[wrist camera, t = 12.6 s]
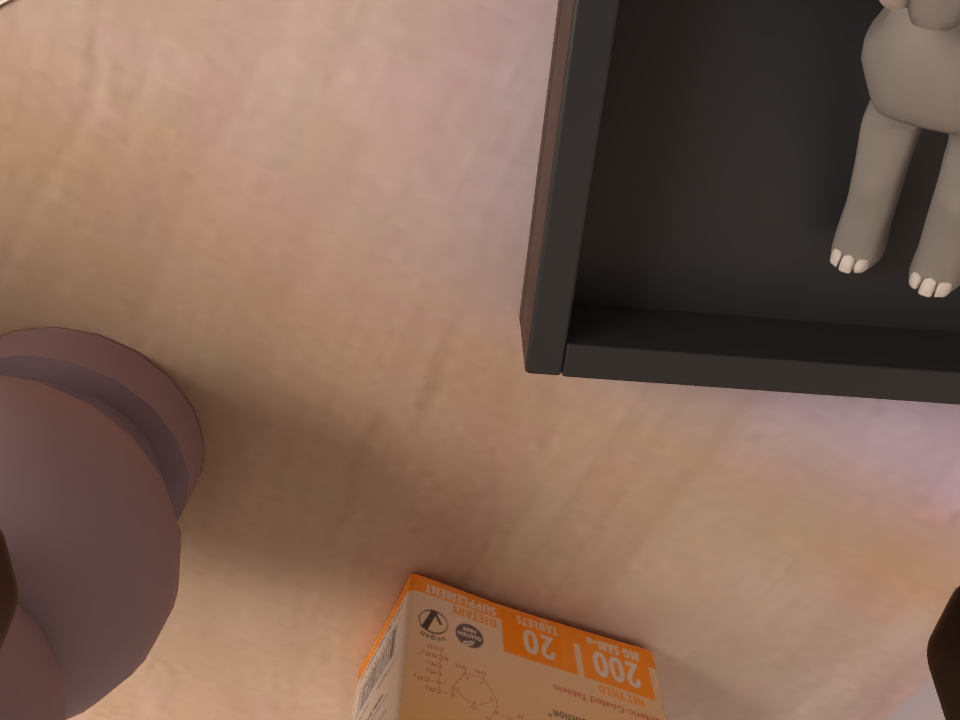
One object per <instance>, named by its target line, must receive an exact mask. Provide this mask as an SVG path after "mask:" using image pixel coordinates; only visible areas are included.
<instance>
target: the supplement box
mask: <svg viewBox="0 0 960 720" xmlns="http://www.w3.org/2000/svg"><path fill="white" fill-rule="evenodd" d="M351 720H666V716H665V711H664V706H663V702H662V697H661V692H660V687H659V682H658V678H657V673H656V669H655V664H654V660H653V655H652V653H651V652H650V651H649V650H646V649H643V648H640V647H637V646H634V645H629V644H627V643H622V642H619V641H616V640H613V639H609V638H606V637H603V636H599V635H596V634H594V633H591V632H586V631H583V630H580V629H577V628H573V627H570V626H566V625H564V624H561V623H557V622H554V621H550V620H547V619H545V618H540V617H538V616H534V615H530V614H528V613H525V612H521V611H519V610H516V609H512V608H509V607H507V606H503V605H499V604H497V603H494V602H491V601H489V600H486V599H483V598H480V597H478V596H475V595H473V594H470V593H467V592H464V591H462V590H460V589H456V588H453V587H452V586H449V585H445V584H442V583H440V582H438V581H436V580H432V579H429V578H426V577H423V576H421V575H417V574H411V575H410V577H409V579H408V581H407V583H406V585H405V587H404V589H403V591H402V593H401V594H400V596H399V598H398V600H397V602H396V604H395V606H394V608H393V609H392V611H391V614H390V615H389V617H388V619H387V620H386V623H385V624H384V627H383V628H382V629H381V632H380V634H379V635H378V637H377V639H376V640H375V643H374V645H373V646H372V648H371V649H370V652H369V653H368V655H367V657H366V658H365V660H364V662H363V663H362V665H361V669H360V672H359V677H358V682H357V687H356V693H355V699H354V704H353V710H352V716H351Z"/></svg>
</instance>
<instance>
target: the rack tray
mask: <svg viewBox="0 0 960 720" xmlns="http://www.w3.org/2000/svg"><path fill="white" fill-rule="evenodd" d="M883 8H884V6H883V5H882V4H881V2H880V1H879V0H559V3H558V11H557V19H556V27H555V35H554V43H553V51H552V59H551V67H550V75H549V83H548V91H547V99H546V107H545V115H544V123H543V131H542V139H541V147H540V155H539V163H538V171H537V179H536V188H535V196H534V204H533V212H532V220H531V228H530V236H529V244H528V252H527V260H526V268H525V276H524V284H523V292H522V300H521V308H520V316H519V317H520V326H521V335H522V345H523V355H524V365H525V370H526V372H528V373H536V374H550V375H560V374H561V372H562V375H563V376H567V377H581V378H595V379H609V380H623V381H637V382H651V383H665V384H680V385H694V386H708V387H722V388H736V389H750V390H764V391H778V392H792V393H806V394H820V395H834V396H848V397H862V398H876V399H890V400H904V401H918V402H932V403H946V404H960V286H958V287H957V288H956V289H955V290H953V291H952V292H950V293H949V294H948V295H947V296H945V297H934V295H935V292H936V291H934V293H933V294H932V296H931V297H926V296H923V295H920V294H919V293H918V291H919V288H920V286H918V288H917V289H914V288H912V287H911V286H910V285H909V269H910V265H911V263H912V260H913V257H914V255H915V253H916V250H917V248H918V245H919V242H920V238H921V235H922V232H923V228H924V224H925V221H926V217H927V214H928V210H929V207H930V204H931V201H932V197H933V194H934V191H935V187H936V184H937V181H938V177H939V173H940V169H941V165H942V161H943V157H944V153H945V150H946V146H947V143H948V138H949V134H948V133H943V132H938V131H933V130H928V129H924V128H923V129H922V132H921V135H920V138H919V141H918V143H917V146H916V148H915V151H914V154H913V156H912V159H911V162H910V165H909V168H908V171H907V175H906V178H905V181H904V185H903V188H902V191H901V195H900V198H899V201H898V204H897V207H896V210H895V214H894V217H893V220H892V223H891V227H890V232H889V236H888V241H887V245H886V249H885V252H884V254H883V256H882V257H881V259H880V260H879V261H878V262H877V263H876V264H874V265H873V266H872V267H870V268H869V269H867V270H866V271H864V272H862V273H854V268H853V269H852V271H851V272H850V273H844V272H841V271H840V270H839V265H840V263H839V264H838V265H837V266H836V267H835V266H834V265H833V264H831V262H830V258H831V248H832V243H833V240H834V236H835V233H836V230H837V227H838V224H839V221H840V218H841V215H842V212H843V209H844V207H845V204H846V200H847V197H848V193H849V188H850V183H851V178H852V173H853V168H854V163H855V158H856V152H857V146H858V140H859V133H860V127H861V123H862V119H863V116H864V113H865V111H866V108H867V106H868V104H869V102H870V99H871V98H870V95H869V91H868V87H867V83H866V79H865V75H864V70H863V65H862V61H861V55H862V50H863V44H864V39H865V36H866V33H867V31H868V29H869V27H870V25H871V24H872V22H873V20H874V19H875V18H876V17H877V16H878V15H879V13H880V12H881V11H882V10H883Z"/></svg>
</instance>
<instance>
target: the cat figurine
mask: <svg viewBox="0 0 960 720" xmlns="http://www.w3.org/2000/svg"><path fill="white" fill-rule="evenodd" d="M202 457H203V437H202V434H201V431H200V428H199V425H198V422H197V419H196V416H195V413H194V410H193V408H192V407H191V405H190V404H189V402H188V401H187V400H186V398H185V397H184V396H183V394H182V393H181V392H180V390H179V389H178V388H177V386H176V385H175V384H174V382H173V381H172V380H171V378H170V377H168V376H167V375H166V374H164V373H163V372H162V371H161V370H159V369H158V368H157V367H156V366H154V365H153V364H152V363H150V362H149V361H148V360H147V359H145V358H144V357H143V356H141V355H140V354H139V353H138V352H135V351H133V350H131V349H129V348H126V347H124V346H122V345H120V344H117V343H115V342H113V341H111V340H109V339H106V338H104V337H102V336H100V335H97V334H91V333H86V332H80V331H74V330H69V329H63V328H57V327H50V328H40V329H29V330H19V331H13V332H11V333H9V334H7V335H4V336H2V337H0V529H1V531H2V532H3V534H4V537H5V540H6V544H7V548H8V552H9V555H10V559H11V563H12V567H13V570H14V574H15V578H16V582H17V586H18V604H17V609H16V613H15V616H14V618H13V621H12V623H11V626H10V629H9V631H8V634H7V636H6V639H5V641H4V644H3V646H2V649H1V652H0V720H66V719H69V718H71V717H73V716H76V715H78V714H80V713H83V712H84V711H86V710H87V709H88V708H90V707H91V706H93V705H94V704H95V703H97V702H98V701H100V700H101V699H102V698H103V697H105V696H106V695H107V694H108V693H109V692H111V691H112V690H113V689H114V688H116V687H117V686H118V685H119V684H121V683H122V682H123V681H124V680H126V679H127V678H128V677H129V676H130V675H132V674H133V673H134V671H135V670H136V669H137V668H138V667H139V666H140V665H141V664H142V663H143V662H144V660H145V659H146V657H147V655H148V654H149V652H150V650H151V648H152V646H153V645H154V643H155V641H156V639H157V637H158V635H159V633H160V632H161V630H162V628H163V626H164V624H165V622H166V620H167V618H168V616H169V615H170V613H171V611H172V609H173V607H174V603H175V600H176V596H177V592H178V584H179V568H180V551H181V532H180V529H179V526H178V523H177V521H178V519H179V517H180V515H181V513H182V511H183V509H184V507H185V505H186V503H187V501H188V499H189V497H190V495H191V493H192V490H193V488H194V486H195V484H196V482H197V479H198V477H199V475H200V473H201V471H202Z"/></svg>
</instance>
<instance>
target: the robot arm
mask: <svg viewBox="0 0 960 720" xmlns="http://www.w3.org/2000/svg"><path fill="white" fill-rule="evenodd" d="M17 604H18V586H17V582H16V578H15V574H14V570H13V567H12V563H11V559H10V555H9V552H8V548H7V544H6V540H5V537H4V534H3V532H2V531H1V529H0V652H1V649H2V646H3V644H4V641H5V639H6V636H7V634H8V631H9V629H10V626H11V623H12V621H13V618H14V616H15V613H16V609H17ZM927 658H928V665H929V669H930V672H931V675H932V678H933V681H934V684H935V688H936V691H937V694H938V697H939V700H940V703H941V706H942V709H943V713H944V716H945V719H946V720H960V586H959V587H958V588H956V589H955V591H954V592H953V594H952V596H951V597H950V599H949V601H948V603H947V605H946V607H945V609H944V611H943V613H942V615H941V617H940V619H939V621H938V623H937V624H936V626H935V628H934V630H933V632H932V634H931V636H930V639H929V642H928V647H927Z"/></svg>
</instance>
